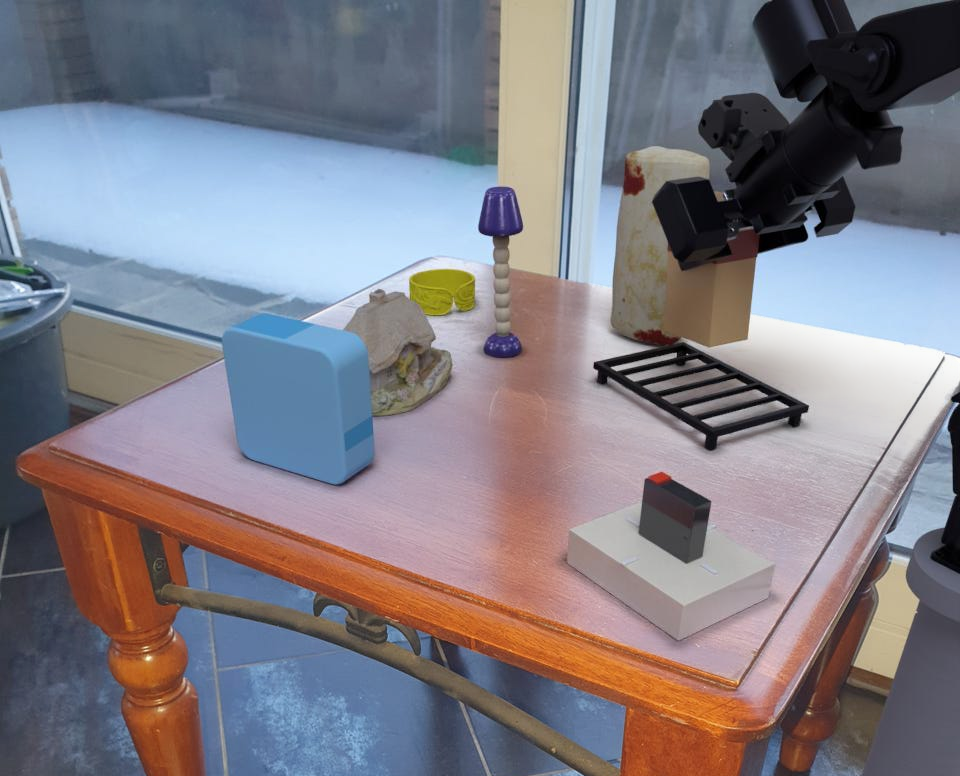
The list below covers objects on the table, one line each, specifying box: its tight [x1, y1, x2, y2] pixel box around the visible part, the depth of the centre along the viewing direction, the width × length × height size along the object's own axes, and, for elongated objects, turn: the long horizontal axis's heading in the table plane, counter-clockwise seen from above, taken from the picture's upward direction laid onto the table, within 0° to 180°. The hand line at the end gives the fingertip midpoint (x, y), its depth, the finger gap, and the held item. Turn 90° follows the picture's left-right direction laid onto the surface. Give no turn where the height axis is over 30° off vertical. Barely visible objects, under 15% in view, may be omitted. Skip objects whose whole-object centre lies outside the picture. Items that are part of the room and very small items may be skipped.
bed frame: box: [592, 341, 810, 452], centre depth 98 cm, size 19×12×2 cm, turn 29°
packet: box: [663, 190, 760, 348], centre depth 91 cm, size 5×7×12 cm, turn 28°
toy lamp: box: [477, 186, 524, 358], centre depth 105 cm, size 5×5×17 cm
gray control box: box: [639, 471, 713, 563], centre depth 70 cm, size 5×2×5 cm, turn 35°
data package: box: [221, 312, 376, 486], centre depth 85 cm, size 12×4×12 cm, turn 60°
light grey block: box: [566, 501, 776, 642], centre depth 73 cm, size 12×9×3 cm
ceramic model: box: [342, 288, 454, 417], centre depth 98 cm, size 14×11×10 cm
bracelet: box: [408, 268, 476, 316], centre depth 121 cm, size 7×8×3 cm
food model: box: [610, 145, 711, 347], centre depth 107 cm, size 10×7×20 cm
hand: (701, 261), depth 91 cm, fingers closed on packet, 4 cm apart
